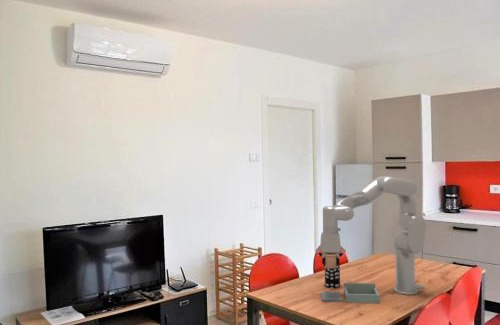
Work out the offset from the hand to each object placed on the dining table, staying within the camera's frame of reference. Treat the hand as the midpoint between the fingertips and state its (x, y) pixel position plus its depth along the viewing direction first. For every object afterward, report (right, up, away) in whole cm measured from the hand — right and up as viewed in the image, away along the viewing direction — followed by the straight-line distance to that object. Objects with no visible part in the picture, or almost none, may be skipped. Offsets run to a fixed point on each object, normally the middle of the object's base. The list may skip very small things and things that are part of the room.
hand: (330, 265), depth 211 cm
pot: (0, -1, 0) cm, 1 cm away
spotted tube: (+5, -17, +19) cm, 26 cm away
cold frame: (+15, -17, -2) cm, 23 cm away
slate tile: (0, -17, 0) cm, 17 cm away
